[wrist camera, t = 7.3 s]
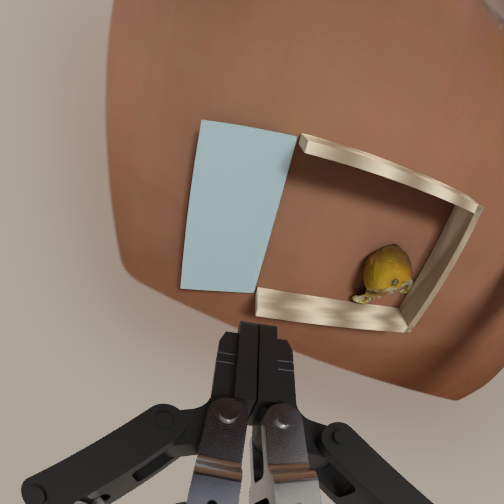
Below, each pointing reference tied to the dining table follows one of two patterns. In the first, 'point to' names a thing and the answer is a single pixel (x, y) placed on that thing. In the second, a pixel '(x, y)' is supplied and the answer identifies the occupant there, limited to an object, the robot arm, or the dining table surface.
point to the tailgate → (233, 205)
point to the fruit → (385, 273)
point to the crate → (425, 284)
